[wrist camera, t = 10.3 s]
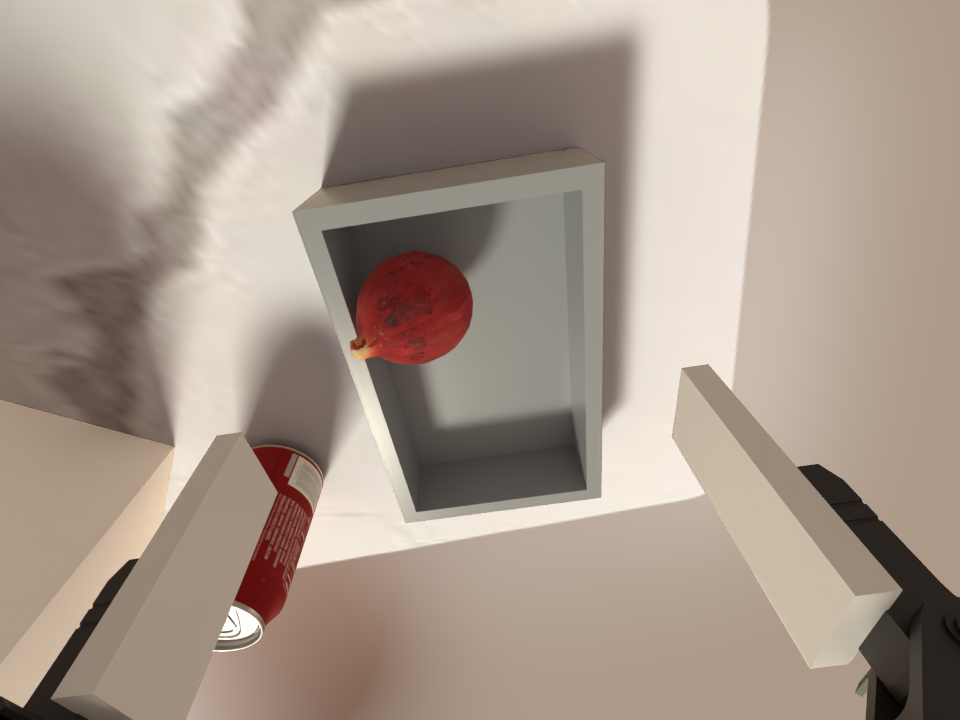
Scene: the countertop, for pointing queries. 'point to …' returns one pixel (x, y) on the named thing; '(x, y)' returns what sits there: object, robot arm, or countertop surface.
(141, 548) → the milk
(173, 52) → the countertop surface
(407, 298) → the onion
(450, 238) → the tote
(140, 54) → the countertop surface
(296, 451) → the soda can
